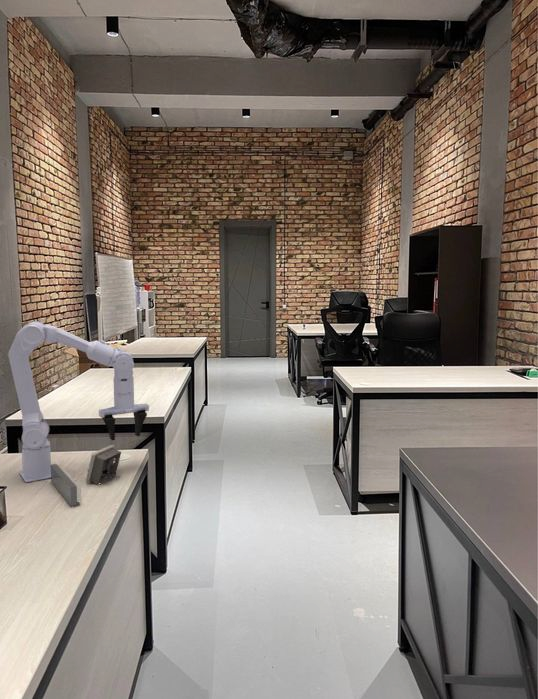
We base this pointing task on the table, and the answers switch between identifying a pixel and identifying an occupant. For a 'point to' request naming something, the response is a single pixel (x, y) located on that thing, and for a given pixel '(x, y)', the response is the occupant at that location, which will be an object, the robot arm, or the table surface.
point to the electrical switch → (103, 465)
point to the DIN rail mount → (65, 485)
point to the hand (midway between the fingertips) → (125, 437)
